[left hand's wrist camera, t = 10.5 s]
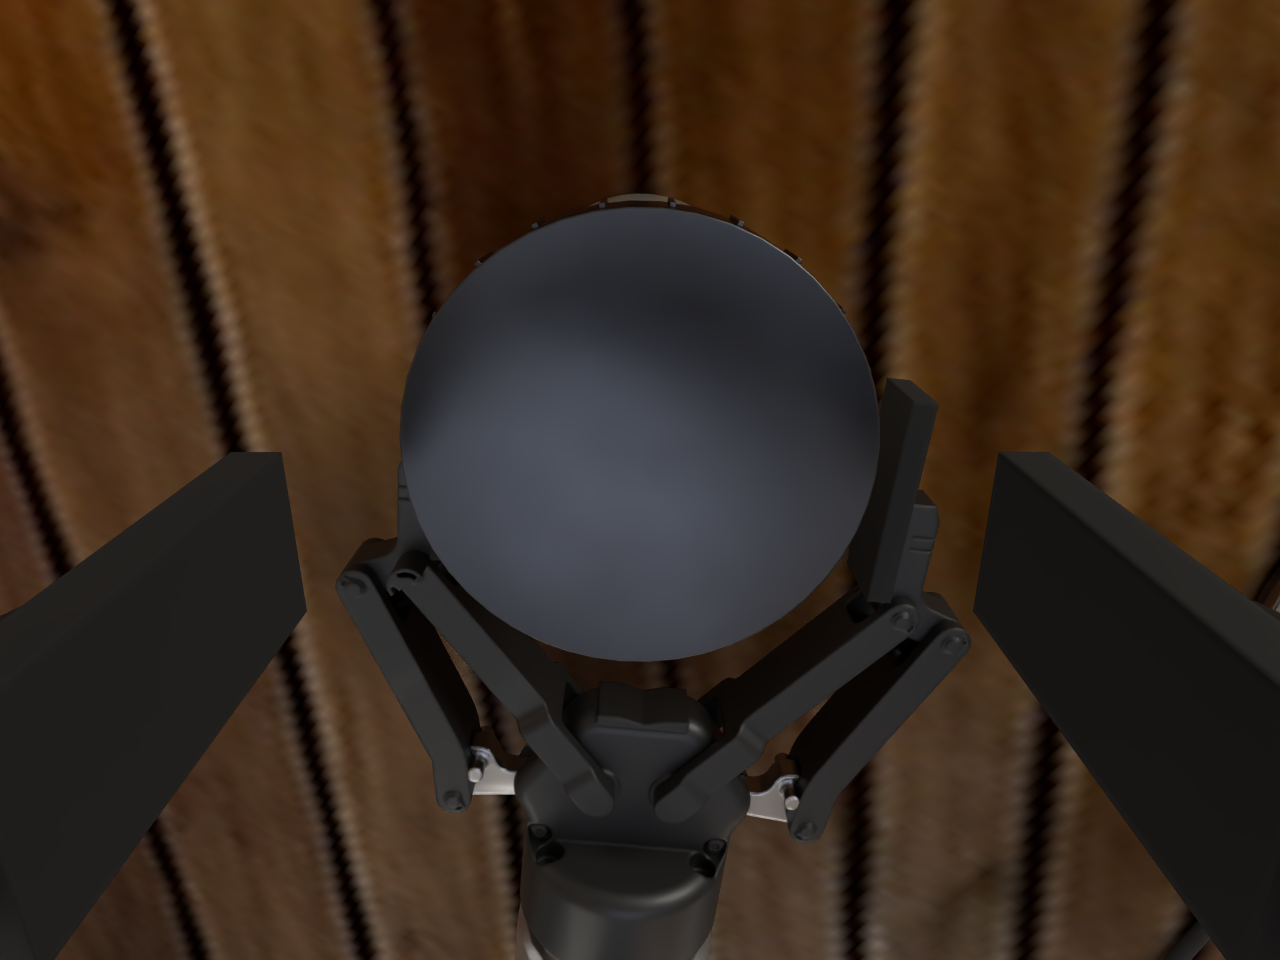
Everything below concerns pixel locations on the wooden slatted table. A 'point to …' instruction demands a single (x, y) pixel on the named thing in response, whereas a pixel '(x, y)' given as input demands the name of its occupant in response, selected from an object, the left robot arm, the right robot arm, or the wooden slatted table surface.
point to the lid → (639, 432)
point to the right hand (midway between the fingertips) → (687, 364)
